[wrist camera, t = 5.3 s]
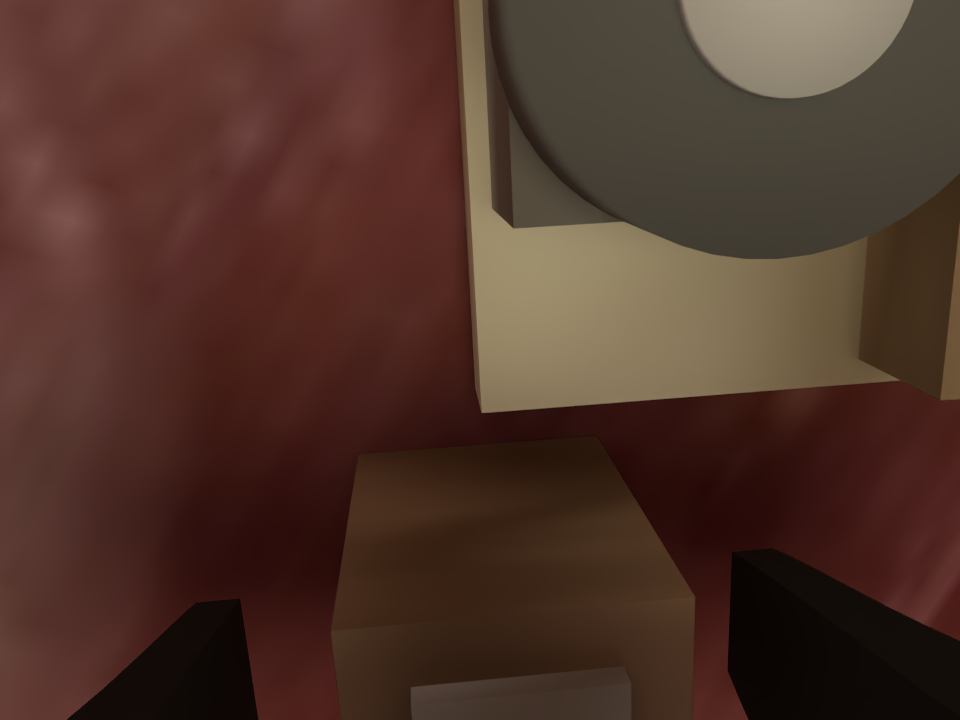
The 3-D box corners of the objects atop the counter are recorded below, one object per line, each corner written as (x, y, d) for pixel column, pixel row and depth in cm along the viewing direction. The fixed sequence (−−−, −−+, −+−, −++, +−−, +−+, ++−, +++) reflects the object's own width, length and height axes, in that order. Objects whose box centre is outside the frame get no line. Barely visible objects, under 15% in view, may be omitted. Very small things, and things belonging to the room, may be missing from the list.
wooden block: (595, 434, 14) (704, 612, 9) (598, 638, 15) (696, 903, 10) (358, 453, 14) (327, 648, 8) (378, 659, 15) (362, 942, 10)
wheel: (852, -192, 10) (1130, -394, 6) (826, 206, 11) (1043, 244, 7) (460, -180, 10) (495, -388, 6) (481, 227, 11) (521, 280, 7)
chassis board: (1324, -194, 12) (1696, -326, 9) (1218, 331, 14) (1478, 397, 11) (443, -169, 11) (459, -304, 8) (475, 388, 13) (499, 478, 10)
